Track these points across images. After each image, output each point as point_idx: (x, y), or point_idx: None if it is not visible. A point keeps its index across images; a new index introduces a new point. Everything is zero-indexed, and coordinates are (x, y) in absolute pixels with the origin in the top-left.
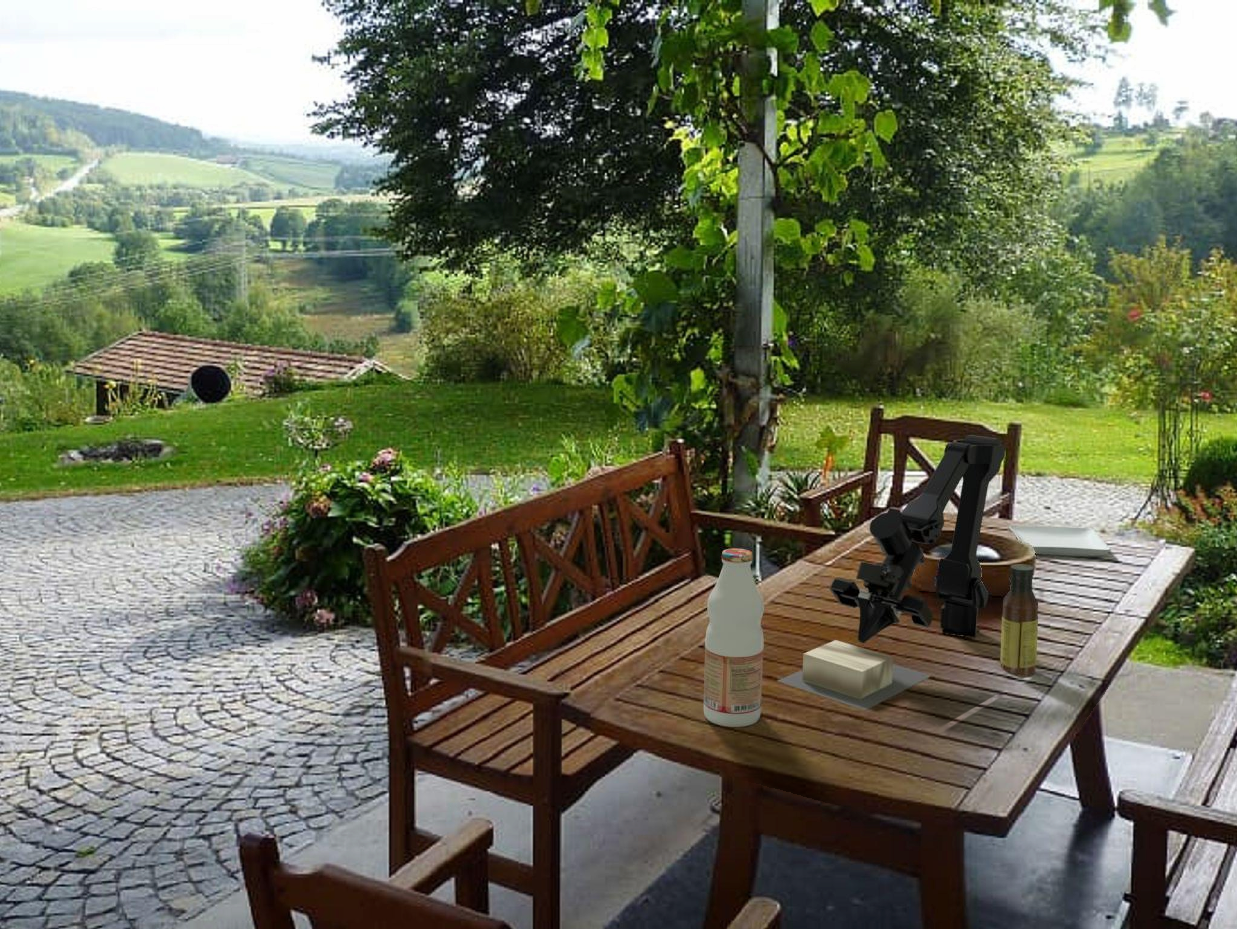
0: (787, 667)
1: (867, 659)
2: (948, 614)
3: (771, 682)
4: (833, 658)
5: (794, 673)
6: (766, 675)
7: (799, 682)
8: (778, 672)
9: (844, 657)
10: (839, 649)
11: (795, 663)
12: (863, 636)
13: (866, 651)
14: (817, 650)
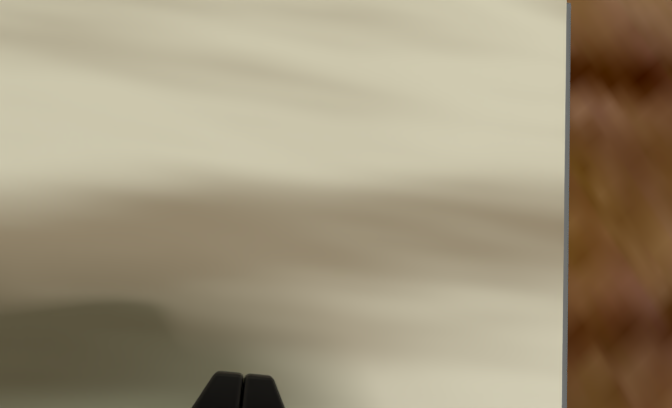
0: (660, 264)
1: (69, 185)
2: None
3: (592, 22)
4: (335, 32)
5: (566, 155)
6: (664, 90)
7: None
8: (649, 165)
9: (270, 105)
10: (403, 264)
11: (667, 354)
12: (202, 403)
13: (169, 385)
14: (529, 123)
